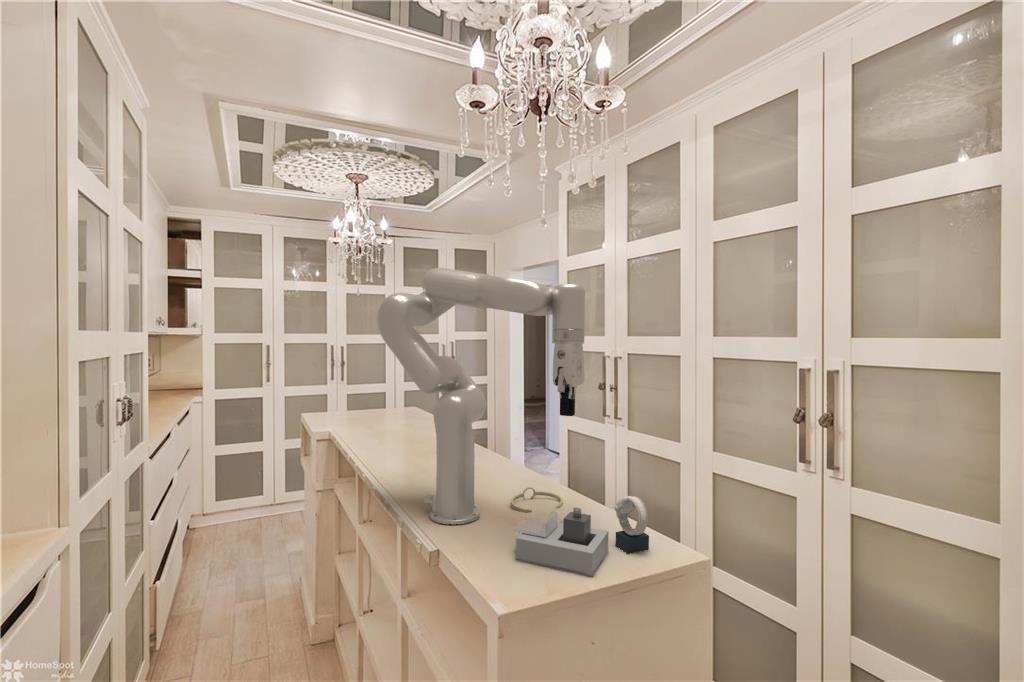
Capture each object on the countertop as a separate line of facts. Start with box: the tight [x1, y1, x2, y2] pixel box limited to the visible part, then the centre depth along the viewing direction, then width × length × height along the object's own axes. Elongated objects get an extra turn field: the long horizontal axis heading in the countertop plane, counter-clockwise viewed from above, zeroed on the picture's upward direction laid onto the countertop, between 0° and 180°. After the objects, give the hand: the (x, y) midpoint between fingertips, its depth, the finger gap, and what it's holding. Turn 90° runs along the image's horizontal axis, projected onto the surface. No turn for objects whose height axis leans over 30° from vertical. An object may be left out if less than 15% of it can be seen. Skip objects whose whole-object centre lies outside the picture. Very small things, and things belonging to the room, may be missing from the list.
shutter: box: [514, 510, 559, 537], centre depth 107 cm, size 7×7×3 cm
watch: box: [614, 495, 650, 555], centre depth 109 cm, size 6×8×11 cm
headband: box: [510, 486, 564, 513], centre depth 136 cm, size 15×4×10 cm
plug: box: [562, 507, 592, 546], centre depth 103 cm, size 4×4×10 cm
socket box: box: [515, 518, 609, 578], centre depth 105 cm, size 16×12×4 cm
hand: (567, 415), depth 118 cm, fingers closed
